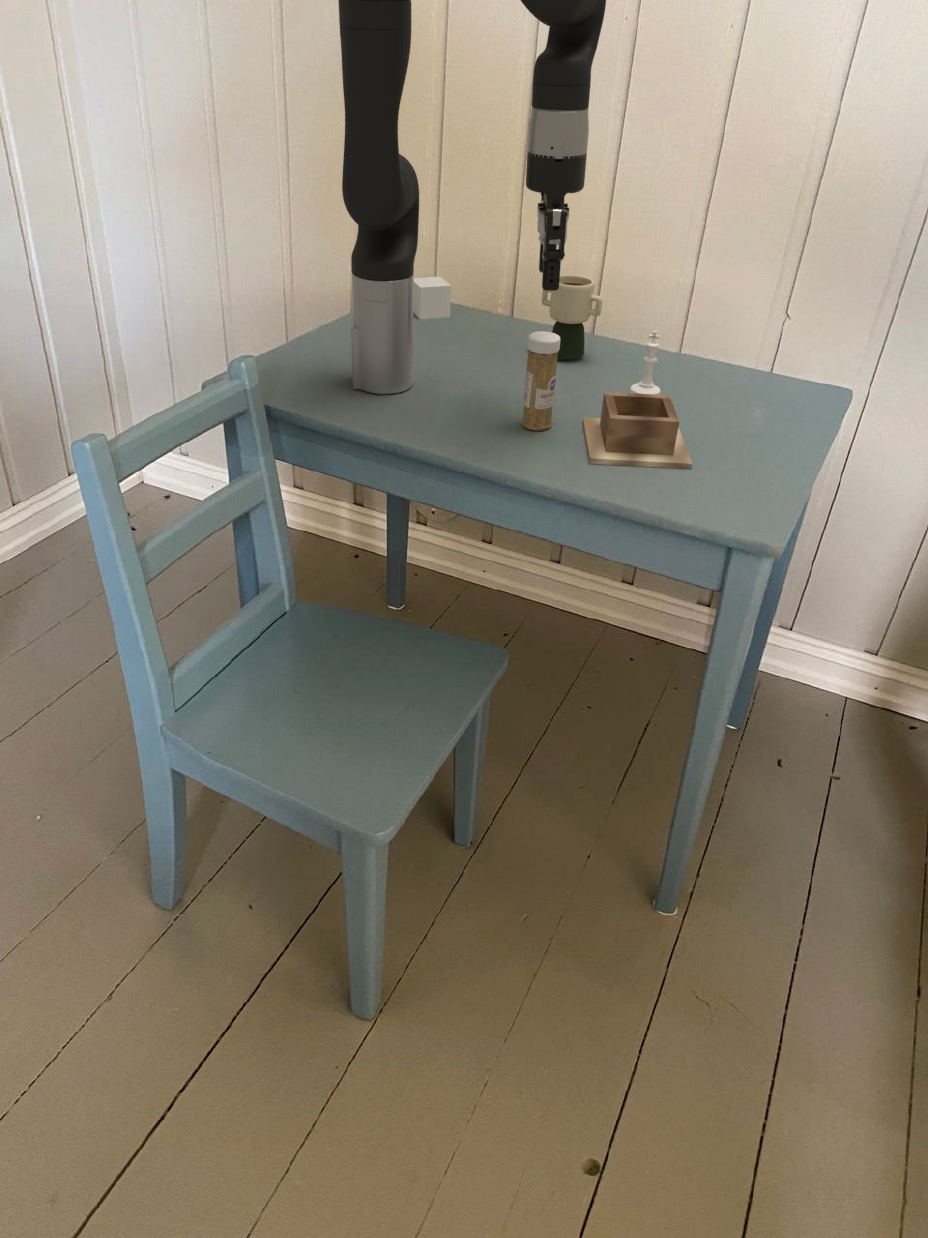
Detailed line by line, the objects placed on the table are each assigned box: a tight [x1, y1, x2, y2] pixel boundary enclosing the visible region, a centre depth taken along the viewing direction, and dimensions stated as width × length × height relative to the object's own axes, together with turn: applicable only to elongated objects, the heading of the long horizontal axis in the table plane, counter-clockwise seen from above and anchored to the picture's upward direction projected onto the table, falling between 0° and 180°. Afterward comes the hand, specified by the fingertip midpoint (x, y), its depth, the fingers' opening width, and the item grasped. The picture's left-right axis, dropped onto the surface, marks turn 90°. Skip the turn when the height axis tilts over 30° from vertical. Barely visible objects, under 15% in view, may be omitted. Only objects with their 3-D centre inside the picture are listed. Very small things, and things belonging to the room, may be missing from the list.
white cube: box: [413, 276, 452, 320], centre depth 176 cm, size 6×6×6 cm
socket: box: [582, 391, 693, 470], centre depth 131 cm, size 14×14×6 cm
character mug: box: [541, 274, 603, 360], centre depth 158 cm, size 11×7×13 cm, turn 61°
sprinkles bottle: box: [521, 330, 560, 431], centre depth 133 cm, size 5×5×14 cm
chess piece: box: [629, 330, 662, 395], centre depth 147 cm, size 5×5×10 cm
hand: (548, 280), depth 126 cm, fingers open, 8 cm apart
